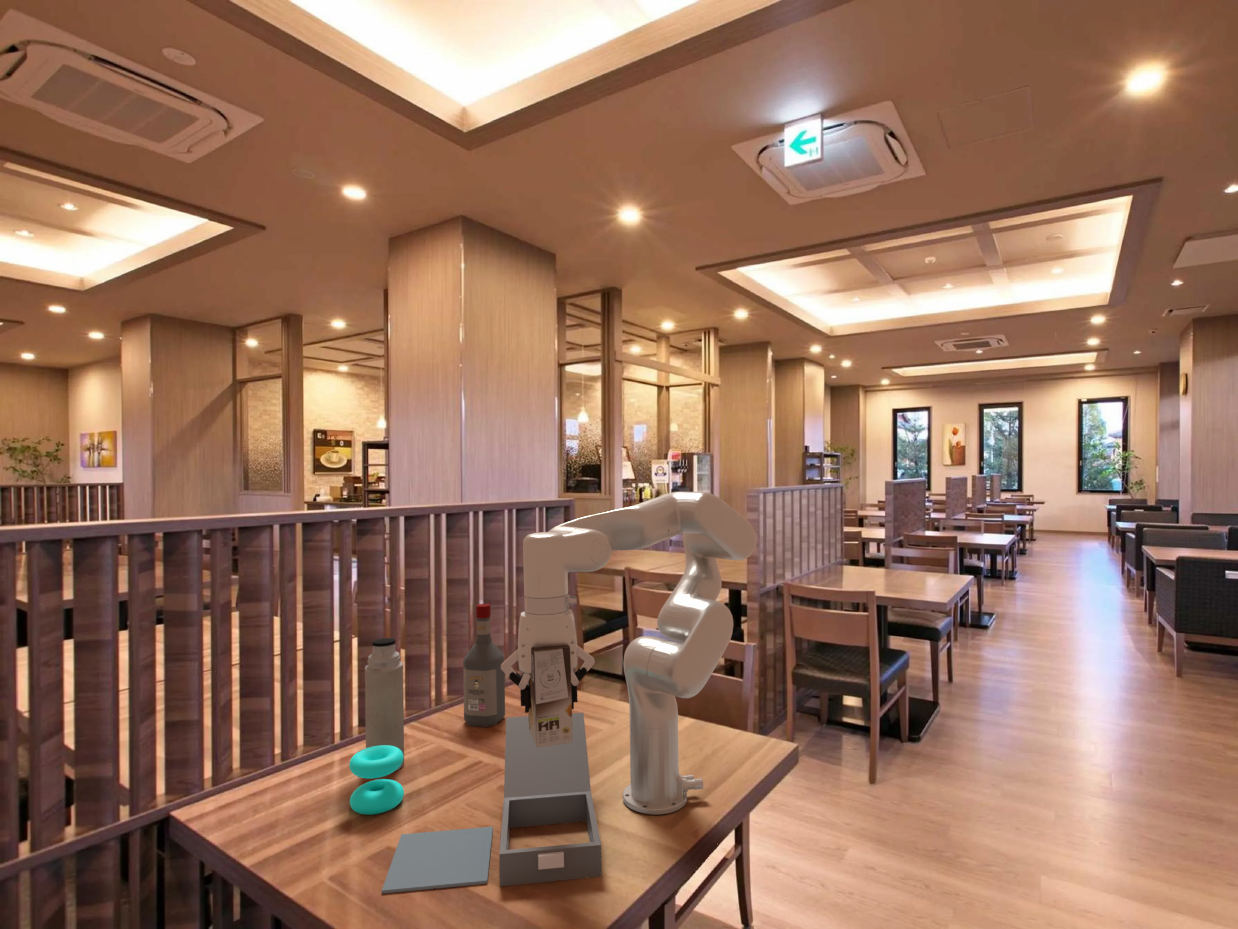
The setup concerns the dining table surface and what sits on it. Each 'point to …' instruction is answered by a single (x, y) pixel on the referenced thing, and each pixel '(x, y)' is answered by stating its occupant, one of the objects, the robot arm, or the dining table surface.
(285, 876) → the dining table surface
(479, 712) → the liquor
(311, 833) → the dining table surface
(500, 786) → the dining table surface
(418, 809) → the dining table surface
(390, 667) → the thermos bottle
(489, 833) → the slate mat
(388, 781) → the donuts
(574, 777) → the case lid
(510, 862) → the case
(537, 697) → the coffee box
